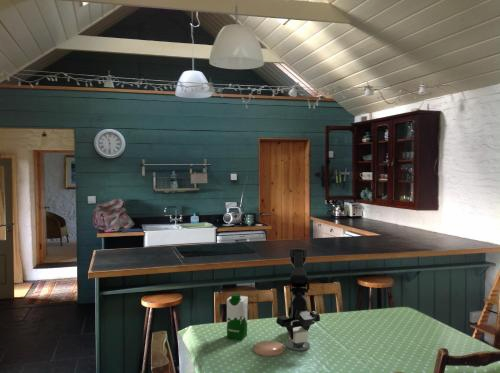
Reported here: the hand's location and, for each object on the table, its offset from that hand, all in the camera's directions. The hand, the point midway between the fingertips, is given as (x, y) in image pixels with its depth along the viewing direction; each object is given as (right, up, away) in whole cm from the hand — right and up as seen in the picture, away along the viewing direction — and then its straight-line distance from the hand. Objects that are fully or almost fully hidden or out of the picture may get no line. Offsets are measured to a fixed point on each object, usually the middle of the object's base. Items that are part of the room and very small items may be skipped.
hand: (298, 338), depth 186 cm
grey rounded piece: (0, -4, 0) cm, 4 cm away
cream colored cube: (0, -1, 0) cm, 0 cm away
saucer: (-13, -4, -3) cm, 14 cm away
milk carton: (-26, -3, +10) cm, 29 cm away
